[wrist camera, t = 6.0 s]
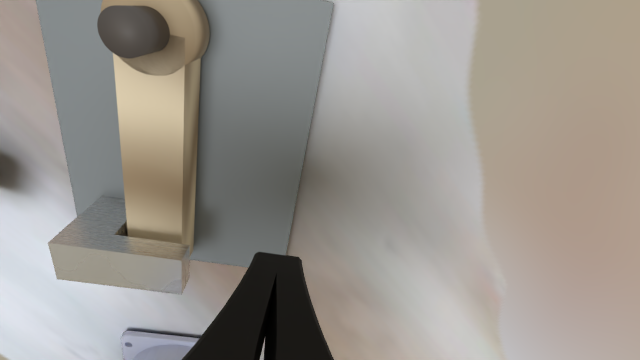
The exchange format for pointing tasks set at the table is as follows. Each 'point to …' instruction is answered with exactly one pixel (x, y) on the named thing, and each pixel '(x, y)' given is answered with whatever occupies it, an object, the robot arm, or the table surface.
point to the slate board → (204, 115)
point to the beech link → (157, 110)
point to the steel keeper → (117, 252)
